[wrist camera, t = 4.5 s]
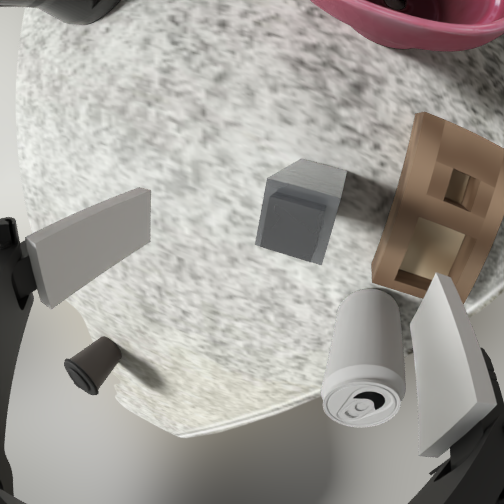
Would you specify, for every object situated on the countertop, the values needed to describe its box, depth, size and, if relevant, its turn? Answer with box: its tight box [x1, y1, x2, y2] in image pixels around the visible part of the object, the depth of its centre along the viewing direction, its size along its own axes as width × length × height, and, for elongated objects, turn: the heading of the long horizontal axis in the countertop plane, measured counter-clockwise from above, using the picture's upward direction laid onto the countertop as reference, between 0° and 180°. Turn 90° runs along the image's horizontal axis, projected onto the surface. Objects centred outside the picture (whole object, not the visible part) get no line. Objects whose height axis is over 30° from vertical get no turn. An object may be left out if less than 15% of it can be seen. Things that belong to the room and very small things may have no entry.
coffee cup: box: [64, 337, 122, 395], centre depth 43 cm, size 8×8×10 cm
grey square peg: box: [255, 159, 347, 265], centre depth 20 cm, size 4×4×11 cm
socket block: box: [371, 112, 504, 304], centre depth 20 cm, size 14×9×3 cm, turn 170°
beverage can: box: [321, 289, 406, 427], centre depth 22 cm, size 6×6×12 cm
